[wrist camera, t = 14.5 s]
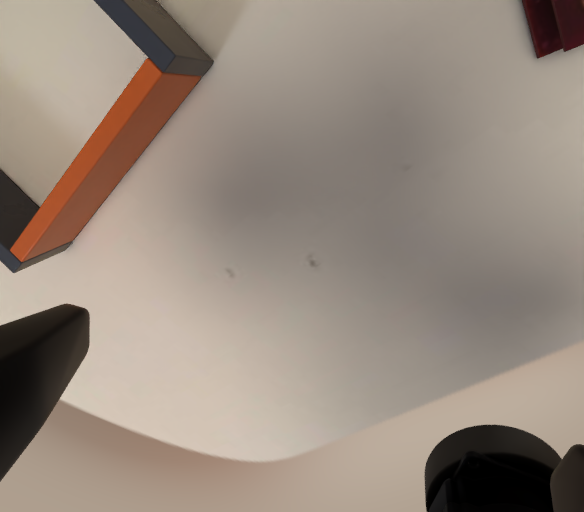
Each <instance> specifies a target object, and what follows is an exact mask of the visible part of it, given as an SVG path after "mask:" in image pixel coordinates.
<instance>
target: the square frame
mask: <svg viewBox="0 0 584 512" xmlns="http://www.w3.org/2000/svg"><path fill="white" fill-rule="evenodd" d="M94 1H95V2H96V3H97V4H98V5H99V6H100V7H101V8H102V9H103V11H104V12H105V13H106V14H107V15H108V16H109V17H110V18H111V19H112V20H113V21H114V22H115V23H116V24H117V25H118V26H119V27H120V28H121V29H122V30H123V31H124V32H125V33H126V34H127V36H128V37H129V38H130V39H131V40H132V41H133V42H134V43H135V44H136V45H137V46H138V47H139V48H140V49H141V50H142V51H143V52H144V53H145V54H146V55H147V56H148V57H149V58H147V59H146V60H145V62H144V63H143V64H142V66H141V67H140V69H139V70H138V71H137V73H136V74H135V76H134V77H133V78H132V80H131V81H130V83H129V84H128V85H127V87H126V88H125V90H124V91H123V92H122V94H121V95H120V97H119V98H118V99H117V101H116V102H115V104H114V105H113V106H112V108H111V109H110V111H109V112H108V113H107V115H106V116H105V118H104V119H103V120H102V122H101V123H100V125H99V126H98V127H97V129H96V130H95V132H94V133H93V134H92V136H91V137H90V139H89V140H88V141H87V143H86V144H85V145H84V147H83V148H82V150H81V151H80V152H79V154H78V155H77V157H76V158H75V159H74V161H73V162H72V164H71V165H70V166H69V168H68V169H67V171H66V172H65V173H64V175H63V176H62V178H61V179H60V180H59V182H58V183H57V185H56V186H55V187H54V189H53V190H52V192H51V193H50V194H49V196H48V197H47V199H46V200H45V201H44V203H43V204H42V206H41V207H40V208H38V207H37V206H36V205H35V204H34V203H33V202H32V201H31V200H30V199H29V198H28V197H27V196H26V195H25V194H24V193H23V192H22V191H21V190H20V189H19V188H18V187H17V186H16V185H15V184H14V183H13V182H12V181H11V180H10V179H9V178H8V177H7V176H6V175H5V174H4V173H3V172H2V171H1V170H0V261H1V262H2V263H3V264H4V265H5V266H6V267H7V268H9V269H10V270H11V271H12V272H13V273H16V272H18V271H20V270H22V269H25V268H27V267H29V266H31V265H33V264H36V263H38V262H40V261H42V260H45V259H47V258H49V257H51V256H54V255H56V254H58V253H60V252H62V251H65V250H66V249H67V247H68V246H69V245H70V244H71V242H72V241H73V240H74V238H75V237H76V236H77V235H78V233H79V232H80V231H81V229H82V228H83V227H84V226H85V224H86V223H87V222H88V221H89V219H90V218H91V217H92V216H93V214H94V213H95V212H96V210H97V209H98V208H99V207H100V205H101V204H102V203H103V202H104V200H105V199H106V198H107V197H108V195H109V194H110V193H111V191H112V190H113V189H114V188H115V186H116V185H117V184H118V183H119V181H120V180H121V179H122V177H123V176H124V175H125V174H126V172H127V171H128V170H129V169H130V167H131V166H132V165H133V164H134V162H135V161H136V160H137V158H138V157H139V156H140V155H141V153H142V152H143V151H144V150H145V148H146V147H147V146H148V144H149V143H150V142H151V141H152V139H153V138H154V137H155V136H156V134H157V133H158V132H159V131H160V129H161V128H162V127H163V125H164V124H165V123H166V122H167V120H168V119H169V118H170V117H171V115H172V114H173V113H174V112H175V110H176V109H177V108H178V106H179V105H180V104H181V103H182V101H183V100H184V99H185V98H186V96H187V95H188V94H189V92H190V91H191V90H192V89H193V87H194V86H195V85H196V84H197V82H198V81H199V80H200V79H201V76H203V75H204V74H205V73H206V71H207V70H208V69H209V67H210V66H211V65H212V64H213V61H212V60H211V59H210V58H209V57H208V56H207V54H206V53H205V52H204V51H203V50H202V49H201V48H200V47H199V46H198V45H197V44H196V43H195V42H194V41H193V40H192V39H191V38H190V37H189V35H188V34H187V33H186V32H185V31H184V30H183V29H182V28H181V27H180V26H179V25H178V24H177V23H176V22H175V21H174V20H173V19H172V18H171V17H170V15H169V14H168V13H167V12H166V11H165V10H164V9H163V8H162V7H161V6H160V5H159V4H158V3H157V2H156V1H155V0H94Z"/></svg>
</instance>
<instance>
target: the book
mask: <svg viewBox="0 0 584 512" xmlns="http://www.w3.org/2000/svg"><path fill="white" fill-rule="evenodd" d="M522 2H523V6H524V10H525V14H526V18H527V21H528V25H529V29H530V33H531V37H532V40H533V44H534V48H535V52H536V56H537V58H540V57H543V56H545V55H548V54H550V53H553V52H555V51H558V50H560V49H563V50H564V52H565V51H568V50H571V49H573V48H575V47H578V46H580V45H583V44H584V0H522Z"/></svg>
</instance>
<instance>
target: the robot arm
mask: <svg viewBox="0 0 584 512" xmlns="http://www.w3.org/2000/svg"><path fill="white" fill-rule="evenodd" d="M89 324H90V317H89V312H88V310H87V309H85V308H82V307H79V306H75V305H71V304H63V305H59V306H57V307H54V308H51V309H48V310H45V311H42V312H39V313H36V314H33V315H30V316H27V317H24V318H21V319H18V320H16V321H13V322H10V323H7V324H4V325H1V326H0V481H1V480H2V479H3V477H4V476H5V475H6V473H7V472H8V471H9V469H10V468H11V467H12V465H13V464H14V463H15V462H16V460H17V459H18V458H19V456H20V455H21V454H22V452H23V451H24V450H25V449H26V447H27V446H28V445H29V443H30V442H31V441H32V439H33V438H34V437H35V435H36V434H37V433H38V431H39V430H40V429H41V427H42V426H43V424H44V423H45V421H46V420H47V418H48V416H49V415H50V413H51V411H52V410H53V408H54V407H55V405H56V403H57V402H58V400H59V399H60V397H61V395H62V394H63V392H64V390H65V389H66V387H67V386H68V384H69V382H70V381H71V379H72V377H73V376H74V374H75V372H76V371H77V369H78V368H79V366H80V364H81V363H82V361H83V359H84V358H85V356H86V354H87V352H88V348H89ZM472 459H474V460H476V461H475V462H471V461H470V460H472ZM429 512H584V445H581V444H576V445H574V446H572V447H571V448H570V449H569V451H568V452H567V454H566V455H565V456H564V458H563V459H562V460H561V462H560V463H559V465H558V466H557V467H556V469H555V470H554V472H553V474H552V476H551V479H548V478H546V477H543V476H540V475H538V474H535V473H532V472H530V471H527V470H525V469H522V468H519V467H517V466H514V465H511V464H509V463H506V462H504V461H501V460H498V459H496V458H493V457H490V456H488V455H485V454H483V453H480V452H477V451H473V450H470V451H467V452H465V453H464V454H463V456H462V458H461V460H460V462H459V464H458V466H457V467H456V469H455V471H454V473H453V475H452V477H451V478H448V479H447V480H445V481H444V482H443V484H442V486H441V488H440V490H439V492H438V494H437V496H436V497H435V499H434V501H433V503H432V505H431V507H430V509H429Z"/></svg>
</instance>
